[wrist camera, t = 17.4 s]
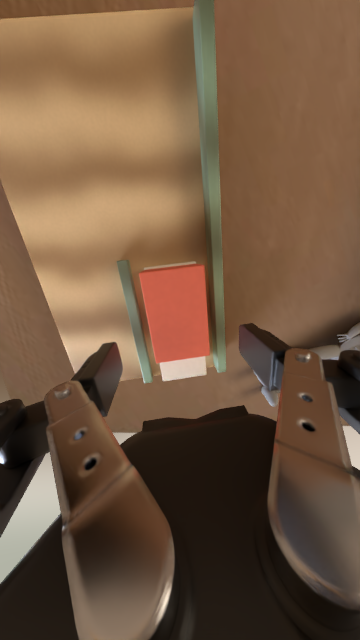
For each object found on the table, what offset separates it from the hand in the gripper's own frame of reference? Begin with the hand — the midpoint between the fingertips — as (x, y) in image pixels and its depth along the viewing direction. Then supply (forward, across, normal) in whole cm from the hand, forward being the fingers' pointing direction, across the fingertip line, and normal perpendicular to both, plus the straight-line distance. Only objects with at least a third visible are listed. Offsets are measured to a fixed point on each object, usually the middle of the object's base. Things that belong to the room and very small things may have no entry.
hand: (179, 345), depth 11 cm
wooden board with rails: (+12, +4, -7) cm, 14 cm away
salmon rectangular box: (+8, 0, +1) cm, 9 cm away
